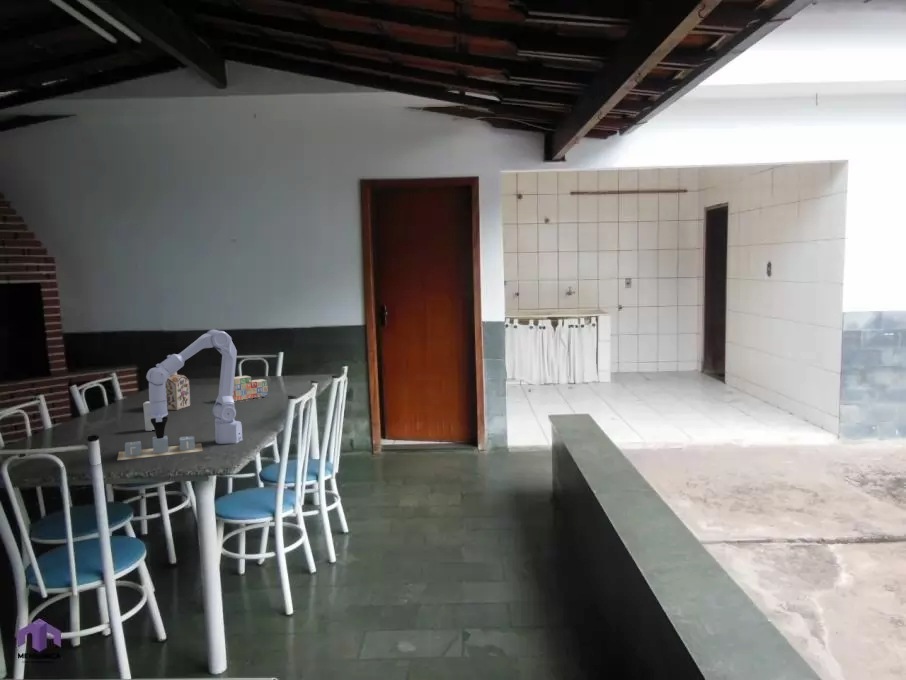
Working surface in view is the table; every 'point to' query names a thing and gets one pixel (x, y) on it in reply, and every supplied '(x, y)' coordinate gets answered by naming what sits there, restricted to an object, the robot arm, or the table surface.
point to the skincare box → (147, 417)
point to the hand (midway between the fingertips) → (160, 437)
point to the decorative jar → (177, 392)
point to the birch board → (150, 453)
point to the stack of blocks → (248, 388)
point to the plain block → (160, 445)
